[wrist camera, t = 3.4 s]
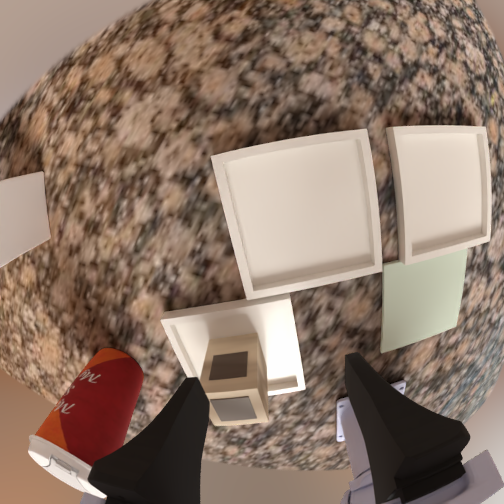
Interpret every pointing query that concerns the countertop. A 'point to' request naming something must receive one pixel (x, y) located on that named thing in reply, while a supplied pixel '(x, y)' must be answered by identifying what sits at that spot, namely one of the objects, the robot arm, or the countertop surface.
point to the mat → (420, 298)
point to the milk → (22, 215)
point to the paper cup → (89, 419)
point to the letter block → (236, 380)
